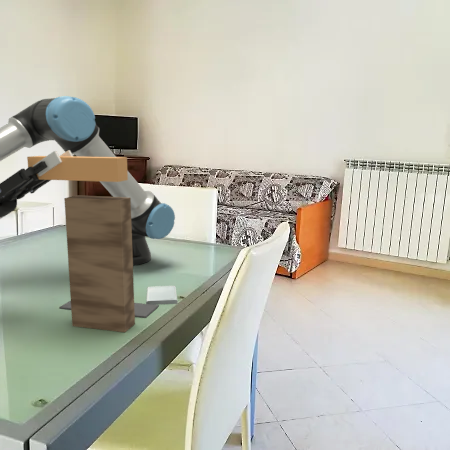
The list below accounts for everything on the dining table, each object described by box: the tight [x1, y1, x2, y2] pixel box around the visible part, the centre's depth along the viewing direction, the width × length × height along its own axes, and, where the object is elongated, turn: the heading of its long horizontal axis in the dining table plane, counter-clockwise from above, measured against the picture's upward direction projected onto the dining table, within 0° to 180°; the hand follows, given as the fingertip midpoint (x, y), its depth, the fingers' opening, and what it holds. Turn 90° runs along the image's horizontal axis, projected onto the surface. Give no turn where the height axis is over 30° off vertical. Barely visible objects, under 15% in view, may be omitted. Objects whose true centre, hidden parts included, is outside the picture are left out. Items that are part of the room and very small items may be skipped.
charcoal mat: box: [58, 300, 160, 319], centre depth 120 cm, size 8×24×1 cm, turn 75°
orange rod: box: [26, 155, 128, 182], centre depth 104 cm, size 4×22×5 cm, turn 75°
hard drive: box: [145, 285, 178, 306], centre depth 129 cm, size 2×8×12 cm
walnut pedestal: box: [64, 195, 136, 333], centre depth 106 cm, size 5×14×30 cm, turn 75°
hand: (65, 156), depth 104 cm, fingers closed on orange rod, 4 cm apart
